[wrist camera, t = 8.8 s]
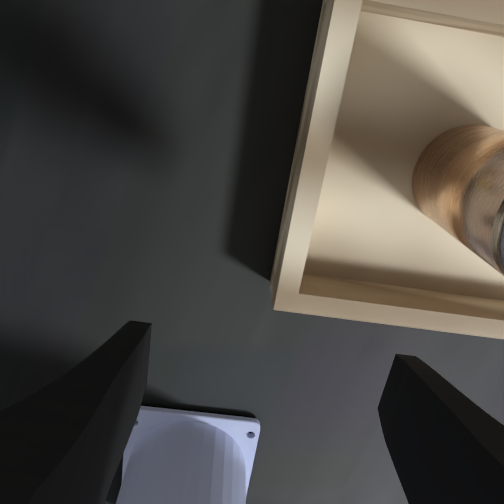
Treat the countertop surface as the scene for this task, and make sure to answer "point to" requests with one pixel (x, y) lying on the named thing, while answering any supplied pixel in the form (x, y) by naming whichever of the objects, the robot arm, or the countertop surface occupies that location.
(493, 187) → the can
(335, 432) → the countertop surface
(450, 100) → the tray
